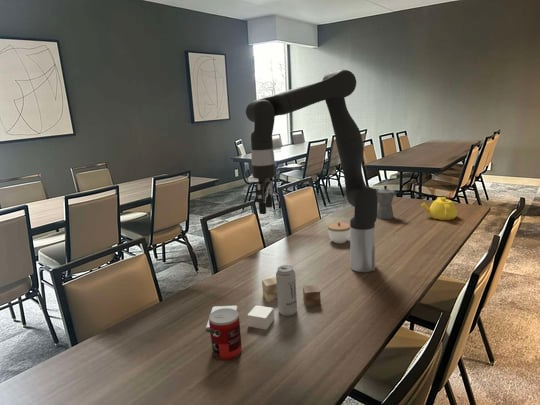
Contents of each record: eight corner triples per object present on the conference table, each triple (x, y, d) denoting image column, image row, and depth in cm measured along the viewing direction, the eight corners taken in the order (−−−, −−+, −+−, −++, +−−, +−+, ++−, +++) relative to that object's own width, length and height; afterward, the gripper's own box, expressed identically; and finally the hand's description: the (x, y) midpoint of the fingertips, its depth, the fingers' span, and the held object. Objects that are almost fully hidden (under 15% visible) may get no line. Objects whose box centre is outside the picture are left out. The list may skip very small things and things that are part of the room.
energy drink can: (291, 318, 117) (289, 273, 114) (274, 314, 121) (271, 270, 117) (300, 309, 122) (298, 266, 119) (284, 305, 125) (281, 263, 122)
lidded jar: (325, 244, 178) (325, 225, 176) (330, 236, 188) (330, 218, 185) (348, 246, 174) (348, 226, 172) (352, 238, 184) (352, 219, 181)
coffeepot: (400, 216, 212) (400, 185, 208) (391, 221, 206) (392, 188, 202) (375, 212, 223) (375, 182, 219) (366, 216, 217) (366, 185, 213)
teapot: (416, 212, 219) (417, 194, 216) (450, 212, 216) (451, 193, 213) (425, 223, 199) (426, 202, 197) (462, 222, 197) (463, 201, 194)
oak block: (276, 292, 135) (275, 277, 133) (281, 299, 130) (280, 283, 128) (263, 295, 133) (261, 280, 132) (267, 302, 128) (266, 286, 127)
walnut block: (318, 298, 129) (317, 284, 128) (320, 305, 124) (320, 291, 123) (303, 299, 129) (302, 285, 128) (305, 306, 124) (304, 292, 123)
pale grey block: (274, 319, 118) (273, 308, 117) (266, 330, 113) (265, 318, 112) (256, 316, 120) (255, 305, 119) (248, 326, 115) (247, 314, 114)
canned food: (213, 344, 107) (209, 309, 104) (241, 341, 107) (238, 306, 105) (211, 362, 99) (207, 324, 97) (242, 358, 100) (238, 321, 97)
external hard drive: (206, 332, 114) (213, 310, 126) (233, 330, 114) (237, 309, 126) (205, 327, 114) (212, 306, 126) (232, 326, 114) (237, 304, 126)
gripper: (268, 166, 117) (271, 216, 121) (279, 159, 131) (281, 205, 135) (245, 166, 119) (249, 216, 123) (258, 160, 133) (261, 205, 136)
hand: (266, 210), depth 129 cm, fingers open, 8 cm apart
